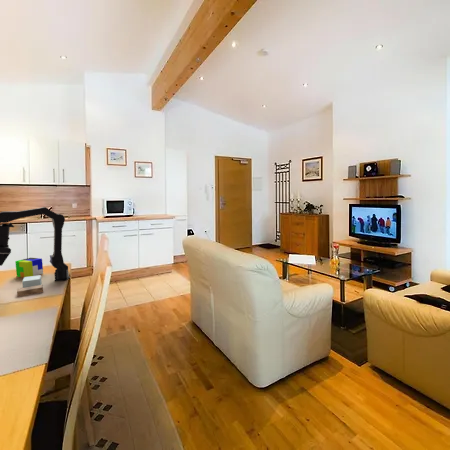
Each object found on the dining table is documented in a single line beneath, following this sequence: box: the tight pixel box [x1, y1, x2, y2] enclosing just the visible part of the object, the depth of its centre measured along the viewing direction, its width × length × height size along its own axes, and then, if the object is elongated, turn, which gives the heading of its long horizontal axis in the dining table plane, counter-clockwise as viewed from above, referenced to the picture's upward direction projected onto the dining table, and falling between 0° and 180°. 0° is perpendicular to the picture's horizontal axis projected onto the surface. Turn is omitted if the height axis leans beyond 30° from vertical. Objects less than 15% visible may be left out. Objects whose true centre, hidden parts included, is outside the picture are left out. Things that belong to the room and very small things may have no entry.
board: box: [16, 284, 44, 297], centre depth 148 cm, size 11×5×3 cm, turn 124°
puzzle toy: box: [15, 257, 44, 278], centre depth 180 cm, size 10×10×10 cm
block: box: [21, 274, 43, 288], centre depth 158 cm, size 8×9×5 cm
